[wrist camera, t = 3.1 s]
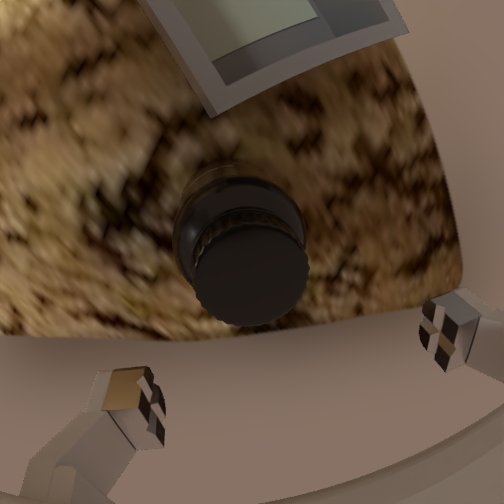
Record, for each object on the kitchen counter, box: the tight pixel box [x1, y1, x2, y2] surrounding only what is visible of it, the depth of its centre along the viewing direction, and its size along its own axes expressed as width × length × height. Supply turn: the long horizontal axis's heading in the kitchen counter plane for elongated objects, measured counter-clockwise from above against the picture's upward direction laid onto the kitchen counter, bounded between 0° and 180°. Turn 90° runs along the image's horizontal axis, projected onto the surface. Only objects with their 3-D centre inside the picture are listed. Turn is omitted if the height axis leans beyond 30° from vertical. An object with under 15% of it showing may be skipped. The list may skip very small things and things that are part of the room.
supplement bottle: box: [173, 159, 310, 327], centre depth 18 cm, size 7×7×12 cm
